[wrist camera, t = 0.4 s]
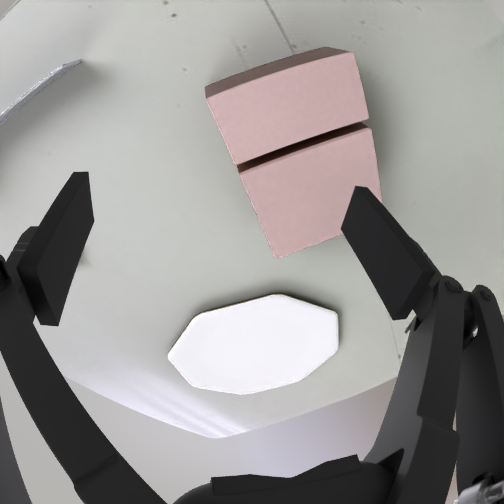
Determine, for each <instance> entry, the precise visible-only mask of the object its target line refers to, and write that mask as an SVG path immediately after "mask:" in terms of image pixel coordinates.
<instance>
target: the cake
mask: <svg viewBox="0 0 504 504" xmlns="http://www.w3.org/2000/svg"><path fill="white" fill-rule="evenodd" d="M237 168H238V171H239V175H240V178H241V180H242V182H243V185H244V187H245V189H246V191H247V194H248V196H249V198H250V201H251V203H252V205H253V208H254V210H255V212H256V215H257V217H258V219H259V222H260V224H261V226H262V229H263V231H264V233H265V236H266V238H267V240H268V243H269V245H270V247H271V250H272V252H273V254H274V257H275V259H278V258H281V257H283V256H286V255H289V254H291V253H294V252H297V251H299V250H302V249H304V248H307V247H310V246H312V245H315V244H318V243H320V242H323V241H325V240H328V239H331V238H333V237H336V236H338V235H341V234H343V232H342V231H341V226H342V223H343V220H344V217H345V214H346V211H347V209H348V206H349V203H350V200H351V197H352V194H353V191H354V188H355V186H363V187H368V188H369V189H370V191H371V192H372V193H373V194H374V195H375V196H376V197H377V199H378V200H379V201H380V202H381V203H382V196H381V188H380V180H379V173H378V166H377V160H376V153H375V147H374V141H373V136H372V130H371V129H370V128H368V127H367V126H366V125H364V124H363V123H362V122H356V123H353V124H350V125H347V126H344V127H341V128H337V129H334V130H331V131H328V132H325V133H322V134H319V135H316V136H313V137H311V138H308V139H305V140H302V141H299V142H296V143H293V144H291V145H288V146H285V147H282V148H280V149H277V150H274V151H272V152H269V153H266V154H264V155H261V156H258V157H256V158H253V159H251V160H248V161H246V162H243V163H240V164H238V165H237Z"/></svg>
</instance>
